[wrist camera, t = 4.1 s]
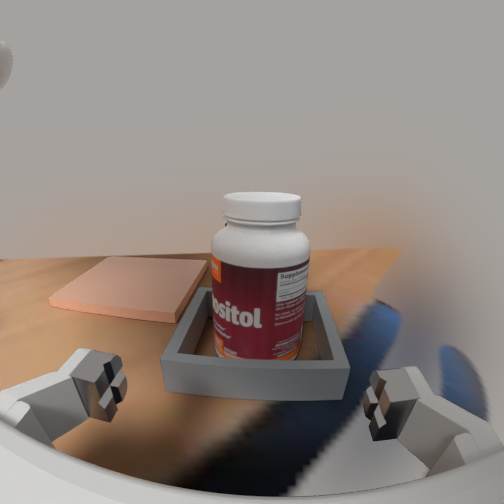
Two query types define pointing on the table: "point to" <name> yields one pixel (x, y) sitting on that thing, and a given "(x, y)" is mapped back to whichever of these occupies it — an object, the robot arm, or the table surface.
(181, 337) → the holder
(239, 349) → the pill bottle
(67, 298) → the tile
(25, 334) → the table surface
